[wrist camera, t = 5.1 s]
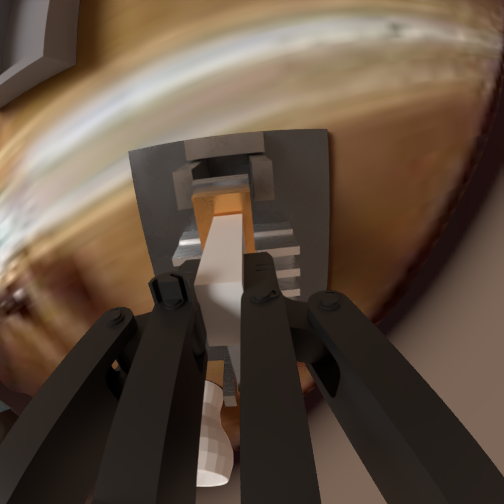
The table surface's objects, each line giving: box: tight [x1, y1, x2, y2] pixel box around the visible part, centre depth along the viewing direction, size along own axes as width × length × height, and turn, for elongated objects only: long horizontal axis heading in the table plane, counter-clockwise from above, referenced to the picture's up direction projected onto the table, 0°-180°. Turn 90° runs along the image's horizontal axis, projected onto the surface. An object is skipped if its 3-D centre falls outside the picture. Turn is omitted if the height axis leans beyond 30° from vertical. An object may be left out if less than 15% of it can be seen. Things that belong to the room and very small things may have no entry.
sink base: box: [128, 129, 330, 407], centre depth 24 cm, size 26×18×9 cm
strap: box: [192, 174, 255, 393], centre depth 21 cm, size 23×3×2 cm, turn 5°
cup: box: [196, 380, 233, 487], centre depth 31 cm, size 11×11×15 cm
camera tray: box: [0, 0, 80, 108], centre depth 11 cm, size 14×21×6 cm
